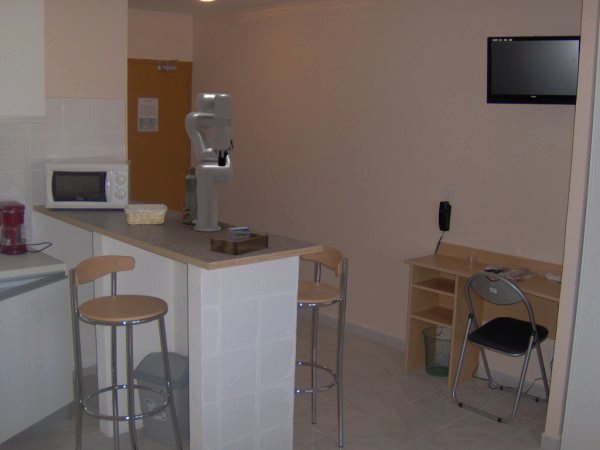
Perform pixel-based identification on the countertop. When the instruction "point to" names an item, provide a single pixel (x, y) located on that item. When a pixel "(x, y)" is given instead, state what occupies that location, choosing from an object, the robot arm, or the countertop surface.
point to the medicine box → (238, 233)
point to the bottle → (190, 198)
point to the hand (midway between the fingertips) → (221, 166)
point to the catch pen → (240, 244)
